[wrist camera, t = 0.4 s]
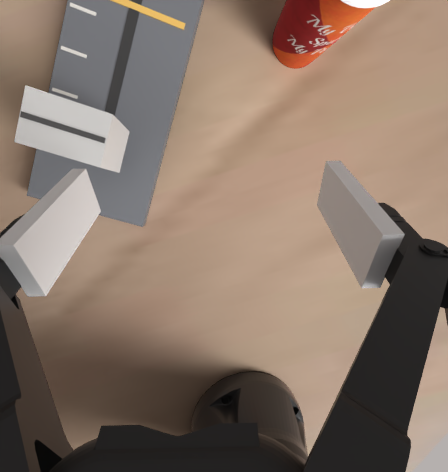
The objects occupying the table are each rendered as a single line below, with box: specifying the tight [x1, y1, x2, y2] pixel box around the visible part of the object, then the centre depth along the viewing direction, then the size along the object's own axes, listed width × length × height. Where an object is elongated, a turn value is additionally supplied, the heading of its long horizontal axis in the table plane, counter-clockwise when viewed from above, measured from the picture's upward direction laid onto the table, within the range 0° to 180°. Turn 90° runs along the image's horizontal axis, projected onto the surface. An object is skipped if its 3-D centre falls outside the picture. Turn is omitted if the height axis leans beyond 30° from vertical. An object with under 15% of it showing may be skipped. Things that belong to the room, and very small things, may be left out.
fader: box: [14, 85, 129, 173], centre depth 24 cm, size 4×6×9 cm, turn 73°
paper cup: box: [272, 0, 389, 68], centre depth 25 cm, size 8×8×14 cm
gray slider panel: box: [27, 0, 204, 227], centre depth 29 cm, size 30×12×2 cm, turn 163°
